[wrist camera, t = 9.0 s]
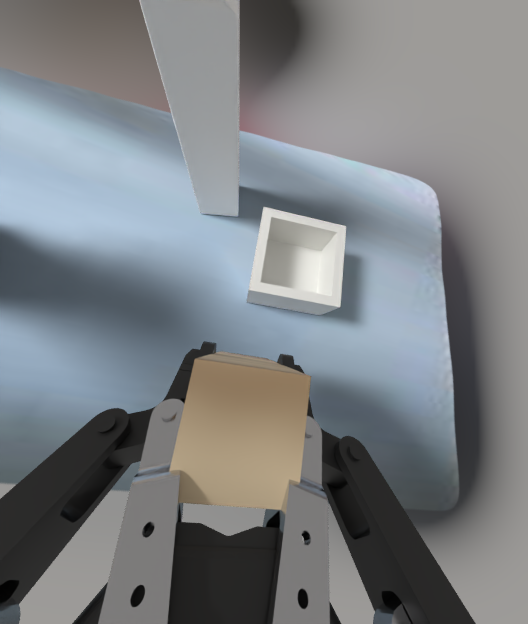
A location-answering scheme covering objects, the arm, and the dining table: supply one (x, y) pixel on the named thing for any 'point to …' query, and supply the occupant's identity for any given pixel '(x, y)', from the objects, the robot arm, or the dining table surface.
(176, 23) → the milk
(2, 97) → the dining table surface
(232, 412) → the beech post
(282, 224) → the white well
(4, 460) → the dining table surface
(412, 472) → the dining table surface
